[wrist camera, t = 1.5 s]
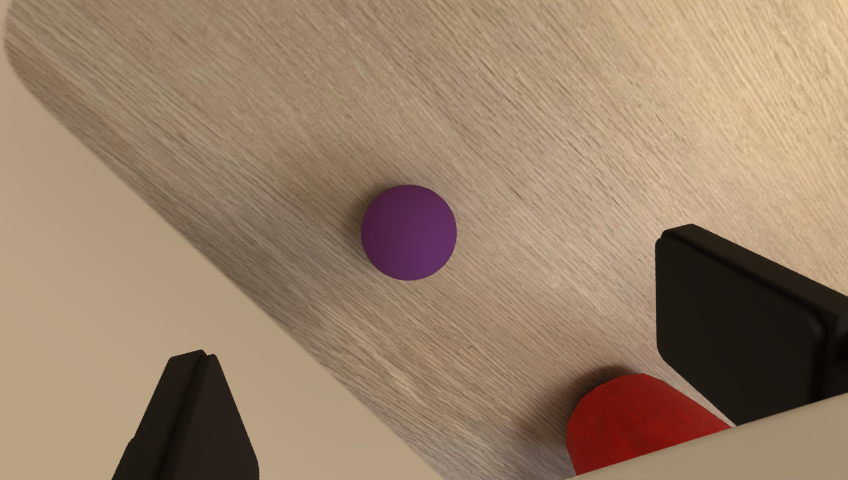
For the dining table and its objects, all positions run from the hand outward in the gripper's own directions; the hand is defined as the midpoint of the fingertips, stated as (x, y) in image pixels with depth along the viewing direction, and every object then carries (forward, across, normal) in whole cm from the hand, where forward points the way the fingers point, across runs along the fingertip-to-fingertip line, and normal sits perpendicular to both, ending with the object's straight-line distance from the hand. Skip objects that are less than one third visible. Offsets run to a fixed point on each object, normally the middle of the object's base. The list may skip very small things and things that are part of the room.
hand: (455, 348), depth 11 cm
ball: (+17, -1, +4) cm, 17 cm away
